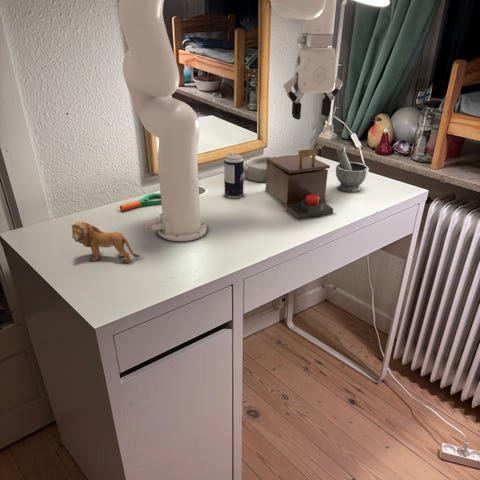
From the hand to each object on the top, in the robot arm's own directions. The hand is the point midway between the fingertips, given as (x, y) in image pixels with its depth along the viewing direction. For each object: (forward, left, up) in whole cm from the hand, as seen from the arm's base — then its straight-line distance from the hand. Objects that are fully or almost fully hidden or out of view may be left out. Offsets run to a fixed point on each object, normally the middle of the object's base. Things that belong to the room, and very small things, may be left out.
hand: (310, 116), depth 130 cm
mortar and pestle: (+19, +6, -24) cm, 31 cm away
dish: (-1, +26, -24) cm, 36 cm away
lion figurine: (-60, -14, -24) cm, 66 cm away
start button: (-2, -8, -21) cm, 22 cm away
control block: (-2, -7, -24) cm, 25 cm away
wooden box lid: (0, +6, -14) cm, 15 cm away
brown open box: (0, +6, -24) cm, 25 cm away
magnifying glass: (-44, +16, -24) cm, 53 cm away
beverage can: (-17, +13, -24) cm, 32 cm away
